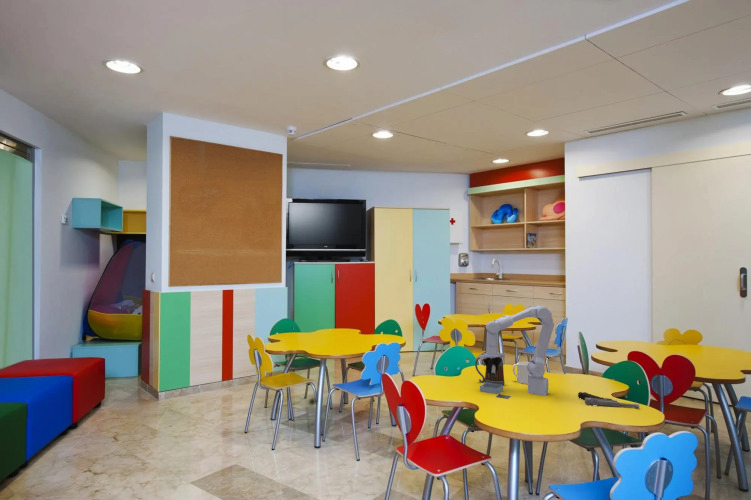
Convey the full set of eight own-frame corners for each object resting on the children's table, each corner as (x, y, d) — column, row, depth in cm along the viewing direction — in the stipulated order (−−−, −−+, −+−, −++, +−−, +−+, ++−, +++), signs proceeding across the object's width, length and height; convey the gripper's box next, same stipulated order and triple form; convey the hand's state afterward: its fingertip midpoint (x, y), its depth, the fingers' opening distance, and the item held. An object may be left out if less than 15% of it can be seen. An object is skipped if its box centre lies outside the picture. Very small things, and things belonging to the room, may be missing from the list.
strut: (493, 375, 232) (493, 363, 232) (497, 377, 228) (498, 365, 228) (486, 376, 230) (487, 364, 230) (491, 377, 227) (491, 365, 227)
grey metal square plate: (511, 398, 220) (511, 396, 220) (508, 401, 215) (508, 399, 215) (499, 396, 223) (499, 394, 223) (495, 399, 218) (495, 396, 218)
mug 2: (533, 380, 257) (533, 362, 257) (538, 385, 247) (538, 365, 247) (510, 379, 257) (510, 361, 258) (515, 384, 247) (515, 365, 248)
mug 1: (502, 382, 250) (502, 355, 250) (506, 388, 239) (506, 359, 240) (473, 381, 251) (474, 354, 252) (475, 386, 241) (476, 357, 241)
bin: (503, 392, 231) (503, 385, 231) (498, 396, 223) (498, 389, 223) (485, 389, 236) (485, 382, 236) (479, 393, 228) (479, 386, 228)
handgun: (630, 402, 221) (640, 411, 206) (577, 397, 226) (583, 405, 212) (630, 395, 221) (640, 403, 206) (577, 390, 226) (583, 398, 212)
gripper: (486, 347, 223) (485, 375, 223) (509, 346, 230) (508, 373, 229) (476, 345, 230) (476, 372, 229) (499, 343, 236) (499, 370, 236)
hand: (492, 372), depth 230 cm, fingers closed on strut, 3 cm apart
